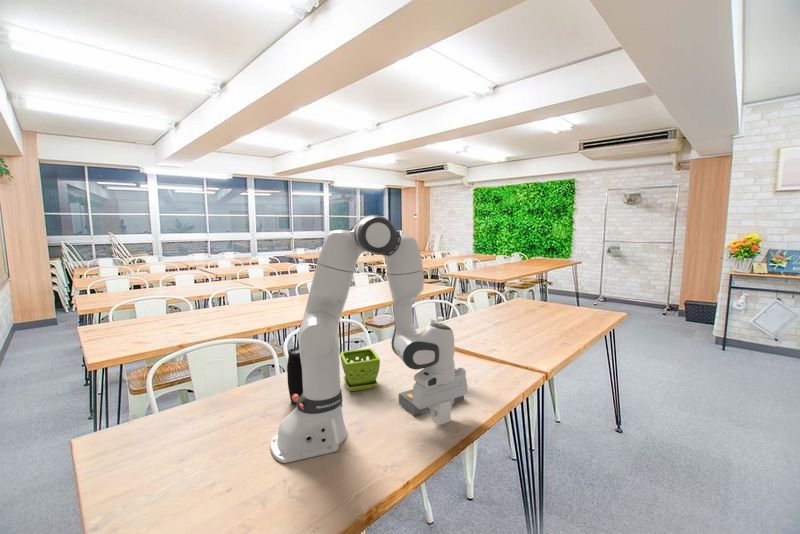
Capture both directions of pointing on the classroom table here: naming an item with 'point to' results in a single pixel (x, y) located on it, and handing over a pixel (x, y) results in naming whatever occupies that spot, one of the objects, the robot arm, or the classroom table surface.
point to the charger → (443, 412)
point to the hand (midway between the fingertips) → (441, 413)
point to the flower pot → (360, 369)
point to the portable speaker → (294, 373)
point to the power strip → (407, 403)
